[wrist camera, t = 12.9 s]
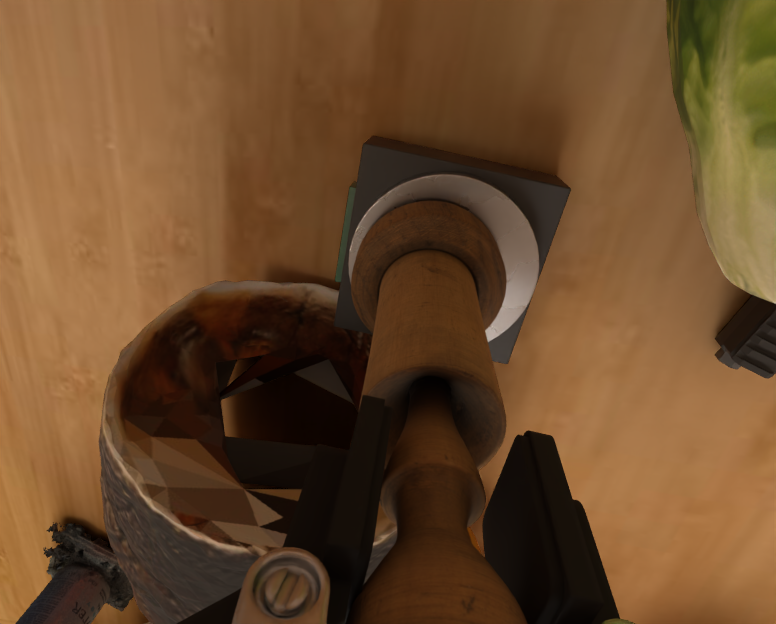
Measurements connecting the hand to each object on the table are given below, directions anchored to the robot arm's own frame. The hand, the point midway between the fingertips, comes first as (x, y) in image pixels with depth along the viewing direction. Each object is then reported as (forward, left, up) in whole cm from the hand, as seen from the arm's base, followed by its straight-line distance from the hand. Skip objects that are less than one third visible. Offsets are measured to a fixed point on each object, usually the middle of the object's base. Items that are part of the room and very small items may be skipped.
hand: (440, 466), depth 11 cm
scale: (0, 0, -17) cm, 17 cm away
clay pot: (-6, -16, -17) cm, 24 cm away
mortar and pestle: (-1, 0, -13) cm, 13 cm away
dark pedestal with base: (-21, -33, -17) cm, 42 cm away
